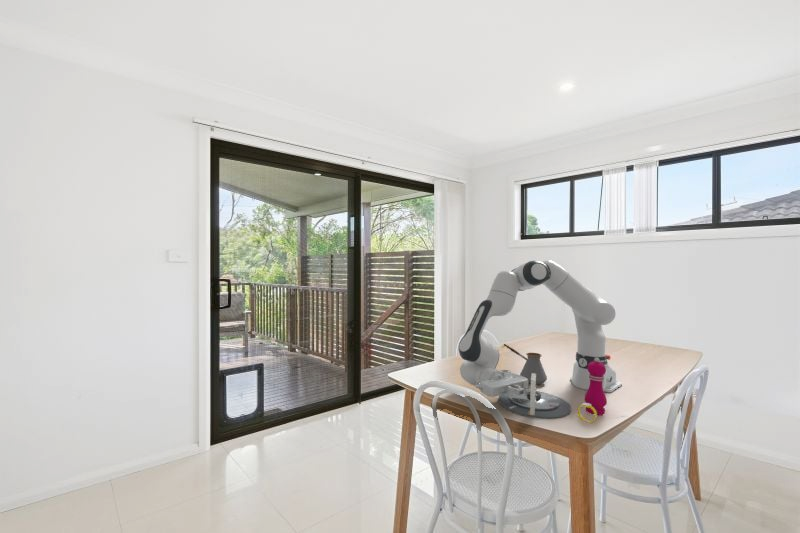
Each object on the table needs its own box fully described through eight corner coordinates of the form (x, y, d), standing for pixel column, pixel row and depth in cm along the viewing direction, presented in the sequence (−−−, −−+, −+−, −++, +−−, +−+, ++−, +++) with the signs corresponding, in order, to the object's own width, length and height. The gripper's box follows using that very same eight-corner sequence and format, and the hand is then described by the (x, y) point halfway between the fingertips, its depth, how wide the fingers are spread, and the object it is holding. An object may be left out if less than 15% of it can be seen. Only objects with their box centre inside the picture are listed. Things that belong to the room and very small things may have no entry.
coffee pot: (551, 383, 171) (552, 349, 171) (539, 389, 163) (540, 354, 163) (508, 372, 186) (508, 341, 186) (495, 377, 178) (496, 345, 178)
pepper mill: (609, 417, 135) (611, 360, 134) (587, 414, 136) (589, 359, 136) (602, 409, 142) (604, 355, 141) (581, 407, 143) (583, 354, 143)
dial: (511, 390, 157) (512, 358, 157) (558, 396, 150) (559, 363, 150) (504, 414, 133) (505, 376, 132) (560, 423, 126) (562, 383, 126)
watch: (576, 420, 132) (576, 403, 132) (579, 418, 134) (578, 401, 134) (595, 424, 128) (594, 406, 128) (598, 422, 130) (597, 404, 130)
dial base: (528, 388, 163) (528, 385, 163) (585, 409, 141) (585, 406, 141) (484, 399, 149) (484, 396, 149) (539, 424, 127) (540, 420, 127)
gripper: (472, 376, 141) (501, 388, 130) (511, 369, 152) (540, 379, 140) (472, 393, 141) (500, 406, 130) (510, 385, 152) (539, 396, 141)
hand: (521, 392), depth 135 cm, fingers closed
